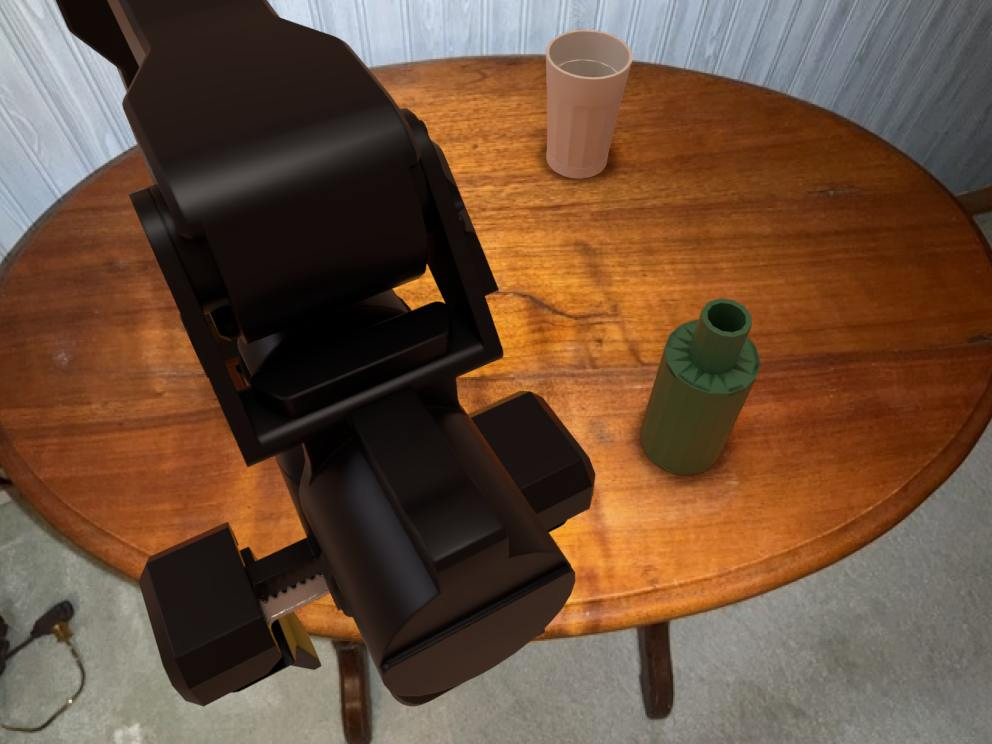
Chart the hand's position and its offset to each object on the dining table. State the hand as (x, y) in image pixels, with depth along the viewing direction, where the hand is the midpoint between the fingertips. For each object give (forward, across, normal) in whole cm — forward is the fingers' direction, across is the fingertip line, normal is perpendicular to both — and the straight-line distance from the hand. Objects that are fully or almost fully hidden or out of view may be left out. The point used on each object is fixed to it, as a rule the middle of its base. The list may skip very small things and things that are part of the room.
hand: (400, 615), depth 41 cm
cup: (+11, +38, +42) cm, 57 cm away
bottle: (+14, +27, +9) cm, 31 cm away
